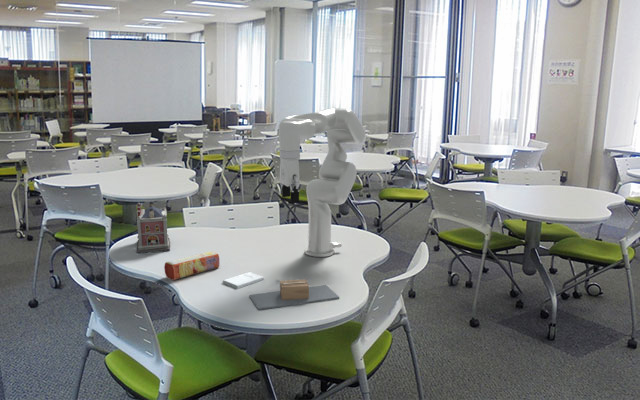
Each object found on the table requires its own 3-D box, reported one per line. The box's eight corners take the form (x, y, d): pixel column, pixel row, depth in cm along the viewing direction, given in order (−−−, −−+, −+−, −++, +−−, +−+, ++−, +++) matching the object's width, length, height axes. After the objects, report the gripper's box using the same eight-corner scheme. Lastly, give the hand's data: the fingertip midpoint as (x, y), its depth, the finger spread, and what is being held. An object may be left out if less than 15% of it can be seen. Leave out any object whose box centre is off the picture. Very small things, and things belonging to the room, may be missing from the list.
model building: (137, 241, 249) (134, 197, 244) (170, 239, 253) (167, 196, 248) (135, 253, 231) (133, 207, 227) (170, 251, 235) (168, 205, 231)
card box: (280, 293, 189) (280, 280, 188) (306, 291, 191) (306, 278, 190) (282, 300, 183) (282, 286, 182) (308, 298, 185) (308, 285, 184)
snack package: (211, 264, 220) (210, 248, 218) (221, 268, 215) (220, 251, 214) (163, 277, 205) (162, 260, 203) (173, 282, 200) (172, 264, 199)
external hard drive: (222, 284, 200) (248, 275, 209) (237, 290, 194) (263, 280, 203) (222, 279, 199) (248, 271, 208) (237, 285, 194) (263, 276, 203)
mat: (325, 286, 197) (326, 284, 197) (339, 298, 187) (339, 296, 186) (249, 296, 187) (249, 294, 187) (258, 310, 176) (258, 308, 176)
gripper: (273, 152, 212) (273, 195, 216) (287, 158, 196) (288, 205, 200) (291, 150, 214) (292, 193, 218) (307, 157, 199) (307, 203, 203)
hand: (290, 199), depth 209 cm, fingers open, 9 cm apart
